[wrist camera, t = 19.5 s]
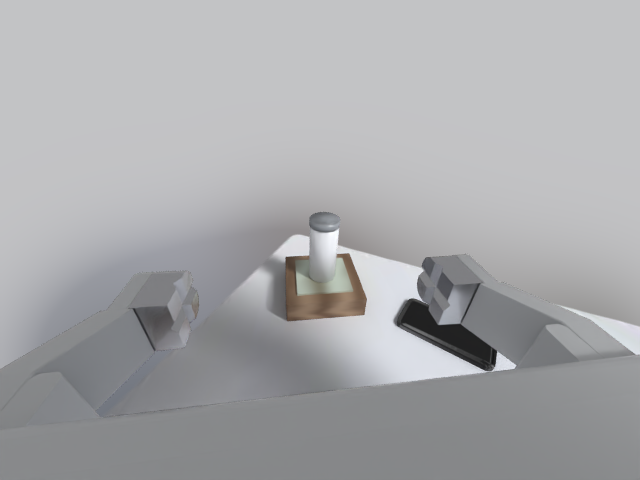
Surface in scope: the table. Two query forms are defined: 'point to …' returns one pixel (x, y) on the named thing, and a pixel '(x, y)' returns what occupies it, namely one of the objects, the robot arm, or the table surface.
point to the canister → (323, 246)
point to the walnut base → (323, 291)
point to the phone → (446, 335)
